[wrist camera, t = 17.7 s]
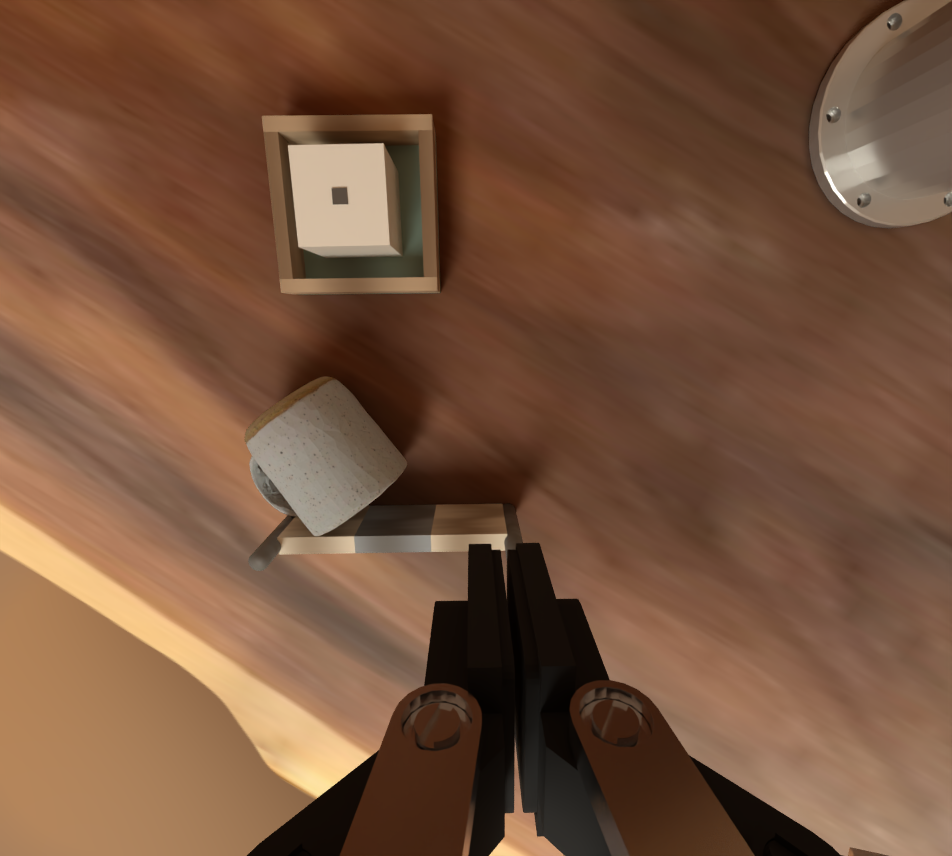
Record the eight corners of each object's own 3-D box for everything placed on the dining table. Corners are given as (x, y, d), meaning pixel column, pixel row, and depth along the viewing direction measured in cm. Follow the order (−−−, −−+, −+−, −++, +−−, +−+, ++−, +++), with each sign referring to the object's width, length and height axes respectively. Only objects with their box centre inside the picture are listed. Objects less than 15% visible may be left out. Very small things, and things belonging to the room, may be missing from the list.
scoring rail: (515, 503, 35) (526, 548, 28) (515, 518, 35) (525, 566, 29) (290, 506, 35) (247, 553, 28) (292, 521, 35) (249, 570, 28)
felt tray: (435, 134, 29) (431, 114, 26) (440, 292, 31) (437, 290, 28) (282, 135, 29) (261, 115, 26) (298, 294, 31) (281, 292, 28)
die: (398, 170, 29) (383, 141, 24) (402, 256, 30) (389, 244, 25) (317, 172, 29) (285, 143, 24) (325, 257, 30) (296, 246, 25)
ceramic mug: (343, 361, 32) (303, 376, 25) (416, 451, 34) (399, 490, 27) (235, 448, 34) (166, 487, 27) (309, 529, 36) (264, 587, 28)
